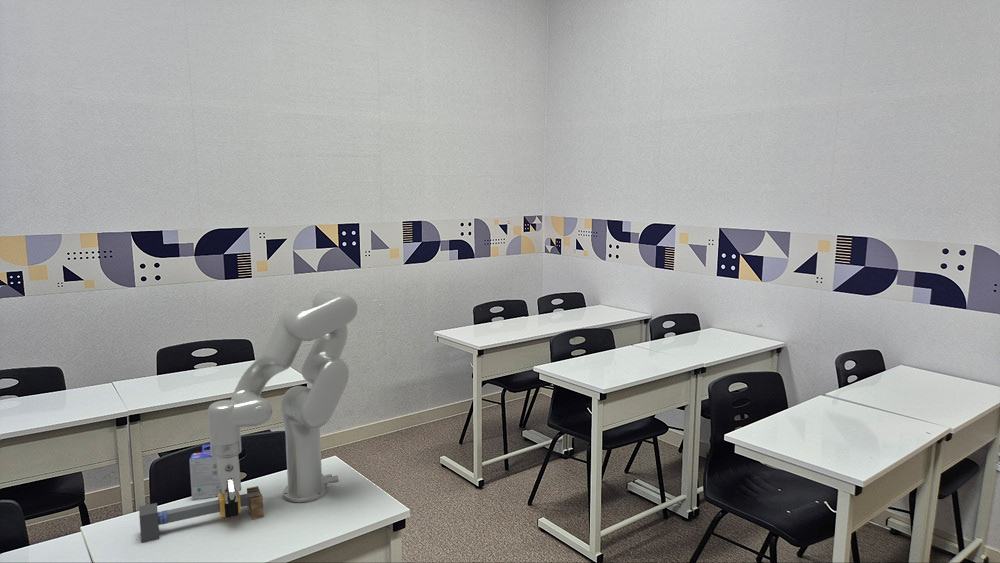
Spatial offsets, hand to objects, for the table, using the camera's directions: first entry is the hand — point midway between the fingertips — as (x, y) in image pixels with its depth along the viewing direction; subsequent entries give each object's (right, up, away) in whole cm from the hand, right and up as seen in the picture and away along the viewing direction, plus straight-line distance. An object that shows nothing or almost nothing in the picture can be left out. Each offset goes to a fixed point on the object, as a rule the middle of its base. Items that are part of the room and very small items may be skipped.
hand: (229, 508), depth 175 cm
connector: (-17, -4, -9) cm, 19 cm away
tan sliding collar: (0, -1, 0) cm, 1 cm away
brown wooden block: (+6, -2, +3) cm, 7 cm away
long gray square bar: (-5, 0, -3) cm, 5 cm away
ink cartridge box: (-11, -1, +15) cm, 18 cm away
